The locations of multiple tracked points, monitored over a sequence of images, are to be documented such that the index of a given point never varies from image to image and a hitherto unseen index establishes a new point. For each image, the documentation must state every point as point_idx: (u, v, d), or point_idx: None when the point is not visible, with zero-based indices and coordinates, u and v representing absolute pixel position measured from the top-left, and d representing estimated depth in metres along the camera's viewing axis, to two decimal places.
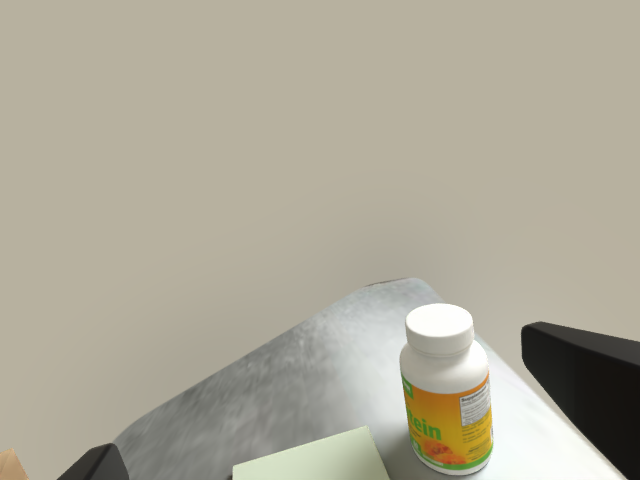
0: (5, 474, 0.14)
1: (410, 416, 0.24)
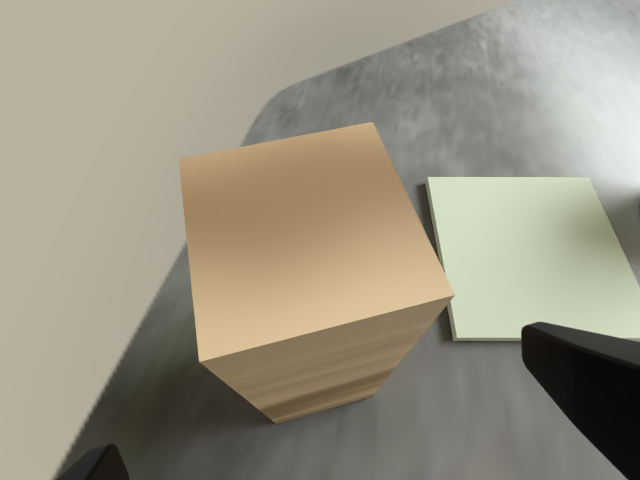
0: (387, 165, 0.09)
1: None
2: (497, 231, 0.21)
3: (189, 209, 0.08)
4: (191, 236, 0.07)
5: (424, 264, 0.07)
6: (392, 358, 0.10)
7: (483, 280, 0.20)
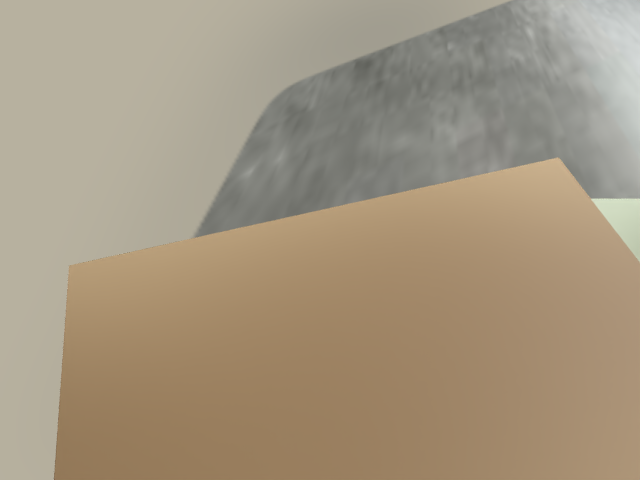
0: (616, 272, 0.03)
1: None
2: None
3: (74, 456, 0.02)
4: None
5: None
6: None
7: None
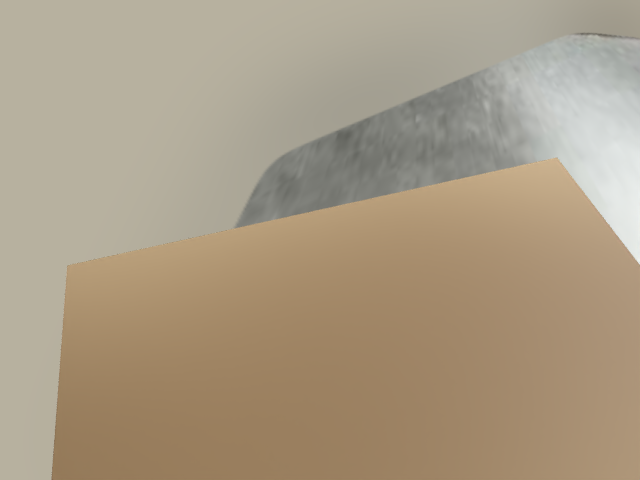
0: (614, 271, 0.03)
1: None
2: None
3: (72, 455, 0.02)
4: None
5: None
6: None
7: None
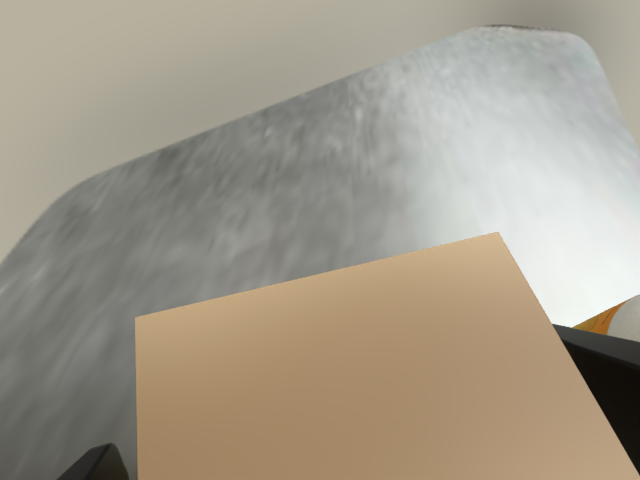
0: (535, 322, 0.04)
1: None
2: None
3: (149, 455, 0.04)
4: None
5: None
6: None
7: None
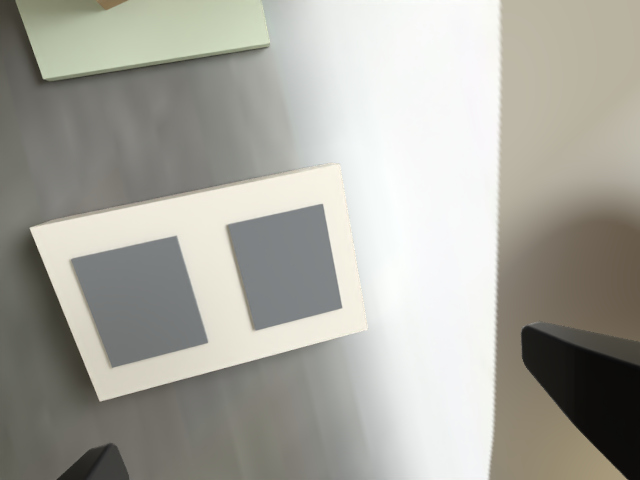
0: None
1: None
2: None
3: None
4: None
5: None
6: None
7: None
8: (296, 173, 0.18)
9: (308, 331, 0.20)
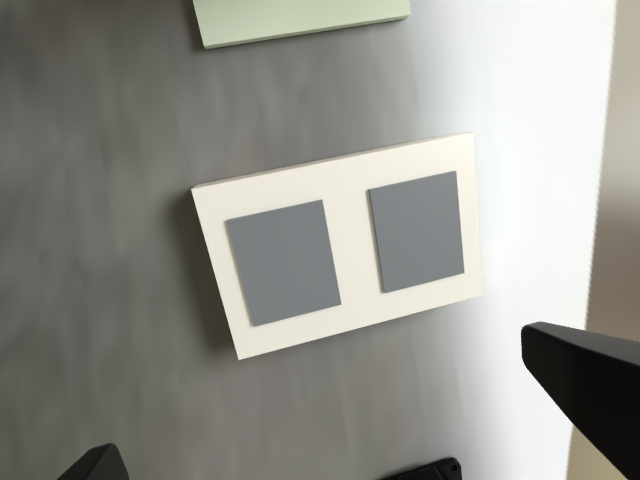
0: None
1: None
2: None
3: None
4: None
5: None
6: None
7: None
8: (433, 140, 0.19)
9: (430, 295, 0.21)
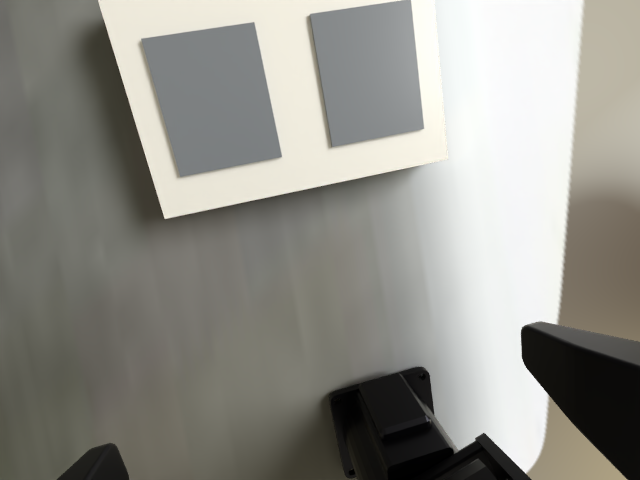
0: None
1: None
2: None
3: None
4: None
5: None
6: None
7: None
8: None
9: (386, 155, 0.18)
